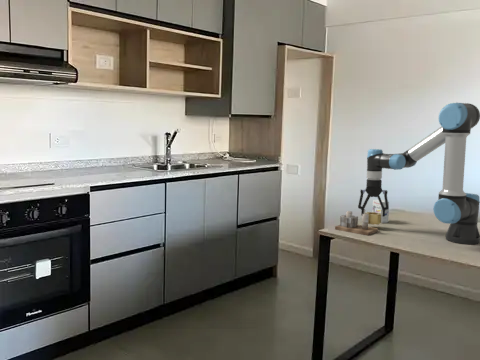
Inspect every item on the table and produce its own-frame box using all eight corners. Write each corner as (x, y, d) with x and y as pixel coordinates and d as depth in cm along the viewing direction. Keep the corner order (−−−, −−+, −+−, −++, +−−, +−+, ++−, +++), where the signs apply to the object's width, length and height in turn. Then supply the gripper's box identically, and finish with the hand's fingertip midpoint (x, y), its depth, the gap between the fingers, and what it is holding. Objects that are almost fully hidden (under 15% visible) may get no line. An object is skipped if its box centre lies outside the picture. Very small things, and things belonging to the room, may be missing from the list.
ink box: (388, 222, 273) (389, 201, 272) (380, 223, 272) (382, 202, 270) (379, 219, 281) (380, 198, 280) (371, 220, 279) (372, 199, 278)
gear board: (378, 231, 253) (379, 213, 252) (367, 235, 244) (368, 217, 243) (346, 225, 264) (347, 208, 263) (335, 229, 255) (335, 212, 254)
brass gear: (381, 222, 262) (381, 212, 261) (379, 224, 255) (380, 215, 254) (365, 220, 265) (366, 211, 264) (364, 223, 257) (364, 214, 257)
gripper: (394, 178, 259) (392, 221, 261) (353, 177, 263) (352, 220, 265) (395, 180, 251) (394, 224, 254) (353, 179, 256) (352, 222, 258)
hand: (372, 222), depth 260 cm, fingers closed on brass gear, 8 cm apart
